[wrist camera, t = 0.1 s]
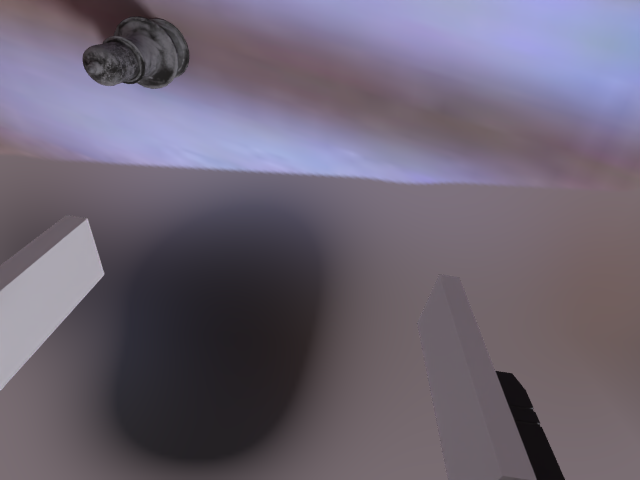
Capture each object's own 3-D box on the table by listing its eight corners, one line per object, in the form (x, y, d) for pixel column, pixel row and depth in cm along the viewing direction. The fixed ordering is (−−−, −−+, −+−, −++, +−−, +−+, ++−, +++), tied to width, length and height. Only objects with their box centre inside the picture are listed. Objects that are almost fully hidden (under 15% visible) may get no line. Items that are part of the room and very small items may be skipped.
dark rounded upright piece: (134, 4, 33) (40, 7, 23) (195, 28, 33) (130, 42, 24) (132, 69, 36) (50, 96, 26) (188, 90, 37) (128, 123, 27)
